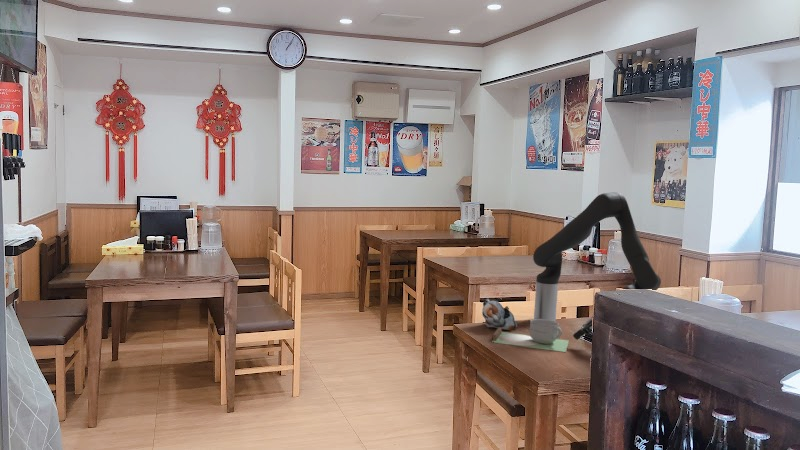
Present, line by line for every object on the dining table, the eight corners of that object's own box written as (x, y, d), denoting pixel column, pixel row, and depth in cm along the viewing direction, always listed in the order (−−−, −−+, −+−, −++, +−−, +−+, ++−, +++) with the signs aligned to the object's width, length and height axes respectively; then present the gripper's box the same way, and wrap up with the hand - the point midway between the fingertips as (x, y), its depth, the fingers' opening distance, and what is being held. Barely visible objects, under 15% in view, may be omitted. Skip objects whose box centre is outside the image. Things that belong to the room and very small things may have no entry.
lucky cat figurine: (521, 331, 250) (512, 304, 244) (493, 342, 250) (484, 314, 245) (510, 312, 264) (501, 286, 258) (483, 322, 264) (474, 296, 258)
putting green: (499, 332, 248) (499, 325, 248) (568, 341, 240) (569, 334, 239) (491, 342, 233) (492, 335, 233) (565, 352, 225) (566, 345, 224)
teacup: (523, 338, 239) (524, 318, 238) (547, 337, 243) (548, 317, 242) (543, 349, 226) (545, 328, 225) (568, 347, 230) (570, 326, 229)
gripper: (605, 297, 233) (569, 325, 238) (604, 304, 220) (566, 333, 225) (618, 313, 232) (582, 340, 237) (619, 321, 219) (580, 350, 224)
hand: (574, 337), depth 231 cm, fingers closed
